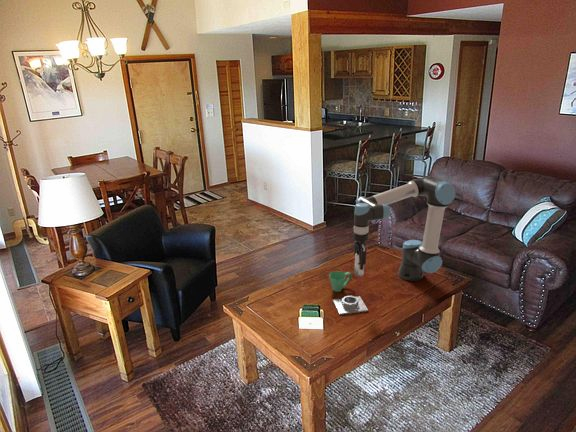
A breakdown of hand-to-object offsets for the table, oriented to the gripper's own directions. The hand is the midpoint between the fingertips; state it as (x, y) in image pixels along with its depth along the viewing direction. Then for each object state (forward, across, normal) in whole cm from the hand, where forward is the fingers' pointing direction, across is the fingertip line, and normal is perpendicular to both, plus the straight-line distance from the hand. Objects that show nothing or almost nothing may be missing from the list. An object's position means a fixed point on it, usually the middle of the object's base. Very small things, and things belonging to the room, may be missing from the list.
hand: (359, 271), depth 219 cm
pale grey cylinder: (+2, 0, 0) cm, 2 cm away
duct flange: (+20, +2, -5) cm, 21 cm away
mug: (+20, -16, -5) cm, 26 cm away
